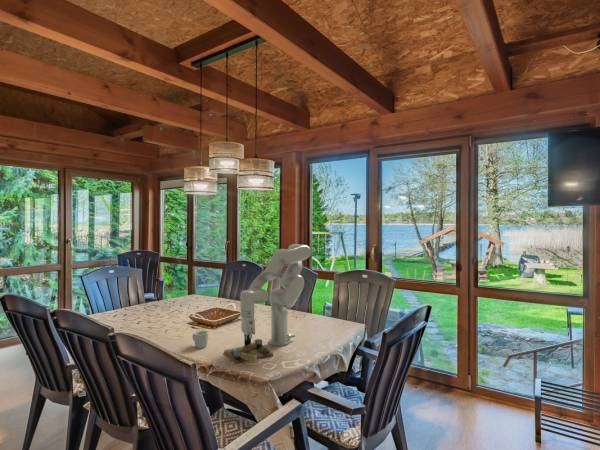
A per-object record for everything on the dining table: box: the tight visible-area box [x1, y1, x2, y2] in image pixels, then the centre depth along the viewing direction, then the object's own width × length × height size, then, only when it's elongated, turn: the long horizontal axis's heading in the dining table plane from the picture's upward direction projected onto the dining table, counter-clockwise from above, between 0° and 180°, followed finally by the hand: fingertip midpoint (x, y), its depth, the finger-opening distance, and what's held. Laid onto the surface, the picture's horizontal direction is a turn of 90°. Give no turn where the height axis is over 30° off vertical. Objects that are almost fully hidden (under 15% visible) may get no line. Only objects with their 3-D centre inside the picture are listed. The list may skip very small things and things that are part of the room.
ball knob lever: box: [242, 338, 263, 352], centre depth 193 cm, size 13×4×3 cm, turn 142°
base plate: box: [223, 344, 274, 365], centre depth 189 cm, size 21×18×4 cm
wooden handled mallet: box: [234, 350, 258, 363], centre depth 178 cm, size 13×4×3 cm, turn 62°
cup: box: [192, 330, 209, 349], centre depth 201 cm, size 11×8×8 cm
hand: (247, 346), depth 194 cm, fingers closed
